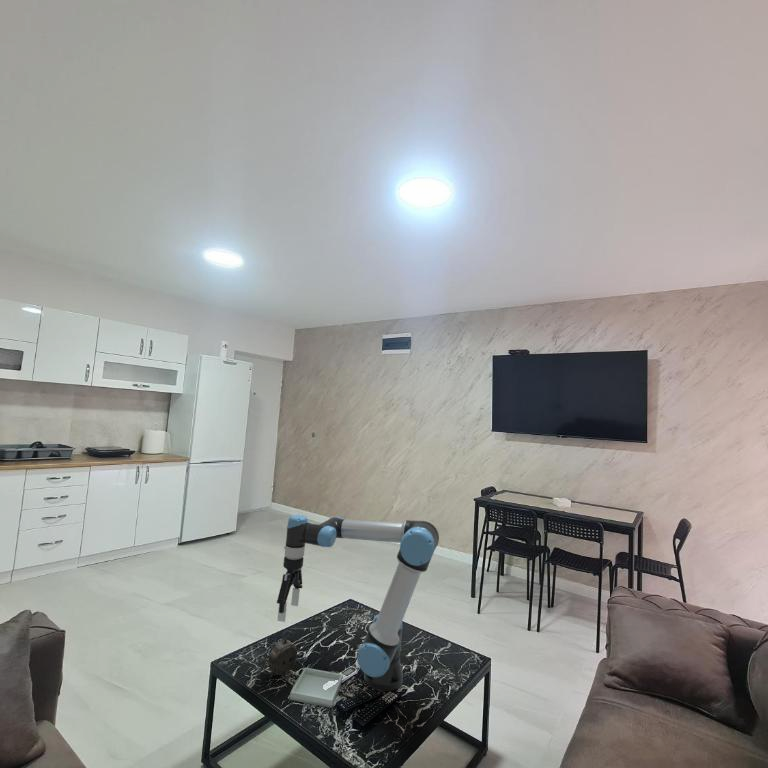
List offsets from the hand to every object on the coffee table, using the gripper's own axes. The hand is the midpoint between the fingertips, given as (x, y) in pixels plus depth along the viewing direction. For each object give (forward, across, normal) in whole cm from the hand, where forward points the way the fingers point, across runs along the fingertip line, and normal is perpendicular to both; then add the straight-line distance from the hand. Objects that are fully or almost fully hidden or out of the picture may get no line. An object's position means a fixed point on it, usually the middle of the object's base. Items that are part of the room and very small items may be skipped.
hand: (288, 612), depth 161 cm
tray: (+23, +5, +16) cm, 28 cm away
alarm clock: (+23, 0, 0) cm, 23 cm away
